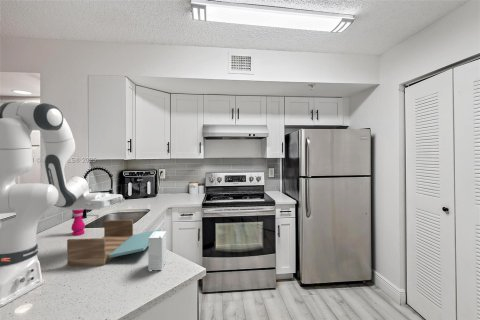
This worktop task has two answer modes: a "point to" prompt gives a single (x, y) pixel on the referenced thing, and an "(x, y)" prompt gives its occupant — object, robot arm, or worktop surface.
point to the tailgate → (133, 244)
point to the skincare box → (157, 250)
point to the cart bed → (99, 244)
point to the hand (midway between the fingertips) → (123, 200)
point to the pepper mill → (78, 223)
